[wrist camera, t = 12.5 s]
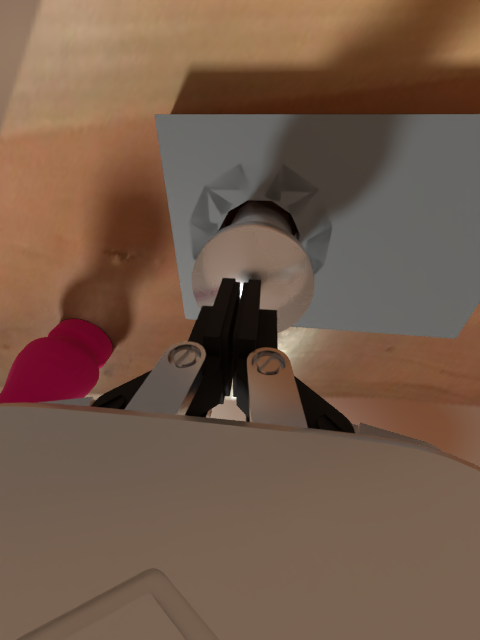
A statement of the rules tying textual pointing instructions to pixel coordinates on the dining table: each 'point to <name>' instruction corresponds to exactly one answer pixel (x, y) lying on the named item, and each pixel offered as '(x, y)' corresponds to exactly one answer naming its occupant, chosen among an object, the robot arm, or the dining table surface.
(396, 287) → the plate
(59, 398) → the pepper mill
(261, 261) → the grey cylindrical piece
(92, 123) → the dining table surface
